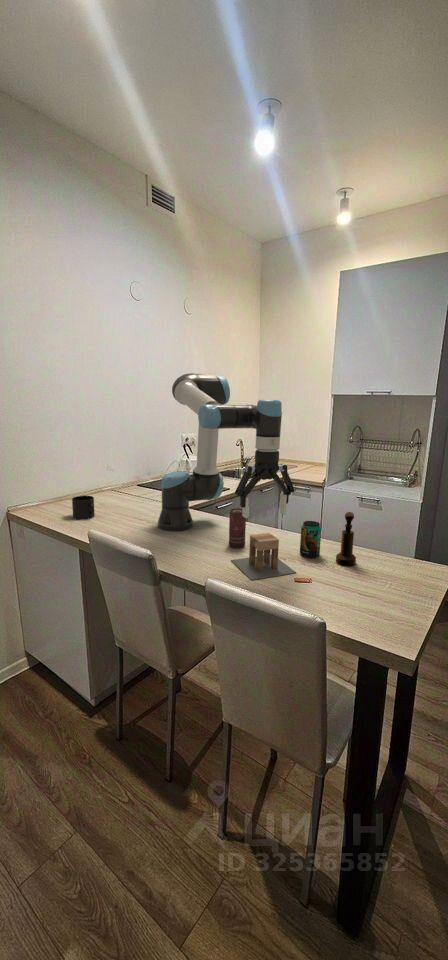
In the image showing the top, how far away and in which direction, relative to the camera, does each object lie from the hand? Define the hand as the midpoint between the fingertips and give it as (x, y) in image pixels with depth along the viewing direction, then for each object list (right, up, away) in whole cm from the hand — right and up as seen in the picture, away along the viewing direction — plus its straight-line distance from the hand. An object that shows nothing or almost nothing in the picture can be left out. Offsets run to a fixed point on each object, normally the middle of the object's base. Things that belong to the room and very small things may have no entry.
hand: (264, 515), depth 128 cm
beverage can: (+18, -16, +14) cm, 28 cm away
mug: (-77, -6, +54) cm, 94 cm away
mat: (0, -17, +3) cm, 18 cm away
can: (-8, -14, +22) cm, 27 cm away
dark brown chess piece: (+29, -17, +8) cm, 35 cm away
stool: (0, -17, +3) cm, 17 cm away
